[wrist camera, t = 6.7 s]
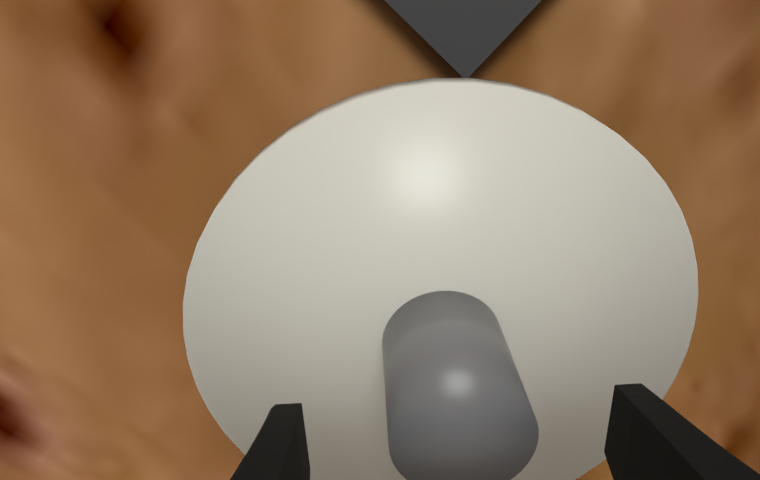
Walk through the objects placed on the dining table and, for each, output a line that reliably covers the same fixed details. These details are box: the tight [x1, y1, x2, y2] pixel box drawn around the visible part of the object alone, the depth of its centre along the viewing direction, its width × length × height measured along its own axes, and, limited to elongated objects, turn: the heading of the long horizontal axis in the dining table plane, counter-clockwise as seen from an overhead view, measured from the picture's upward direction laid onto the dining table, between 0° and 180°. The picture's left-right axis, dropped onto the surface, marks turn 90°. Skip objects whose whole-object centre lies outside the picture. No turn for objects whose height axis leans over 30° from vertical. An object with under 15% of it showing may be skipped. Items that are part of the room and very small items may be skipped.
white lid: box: [183, 78, 698, 480], centre depth 15 cm, size 14×14×4 cm
